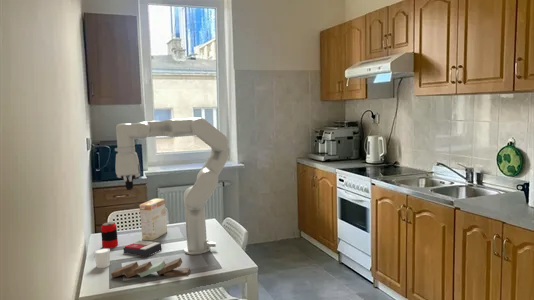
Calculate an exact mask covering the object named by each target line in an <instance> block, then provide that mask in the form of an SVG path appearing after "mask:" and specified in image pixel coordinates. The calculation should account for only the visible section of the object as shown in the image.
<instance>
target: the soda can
mask: <svg viewBox="0 0 534 300" xmlns="http://www.w3.org/2000/svg"><path fill="white" fill-rule="evenodd" d="M117 228H118V227H117V224H116V223H115V222H113V221H111V222H110V221H109V222H108V221H107V222H105V223H102V224H101V227H100V232H101V243H102V249H104V248H107V249H113V248H116V247H118V246H119V240H118V239H119V238H118V232H117V231H118V229H117Z"/></svg>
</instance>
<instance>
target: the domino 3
mask: <svg viewBox="0 0 534 300" xmlns="http://www.w3.org/2000/svg"><path fill="white" fill-rule="evenodd" d="M166 264H167V263H166V262H165V260H162V261H160V262H157V263H155V264H152V266H151V267H150V268H149V269H148V270H147V271H144V272H142V273H139V277H140V278H144V277H146V276H149V275H151V274H154V273H157V271H159V270H161V269H162V268H163V267H164V266H165V265H166Z"/></svg>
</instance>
